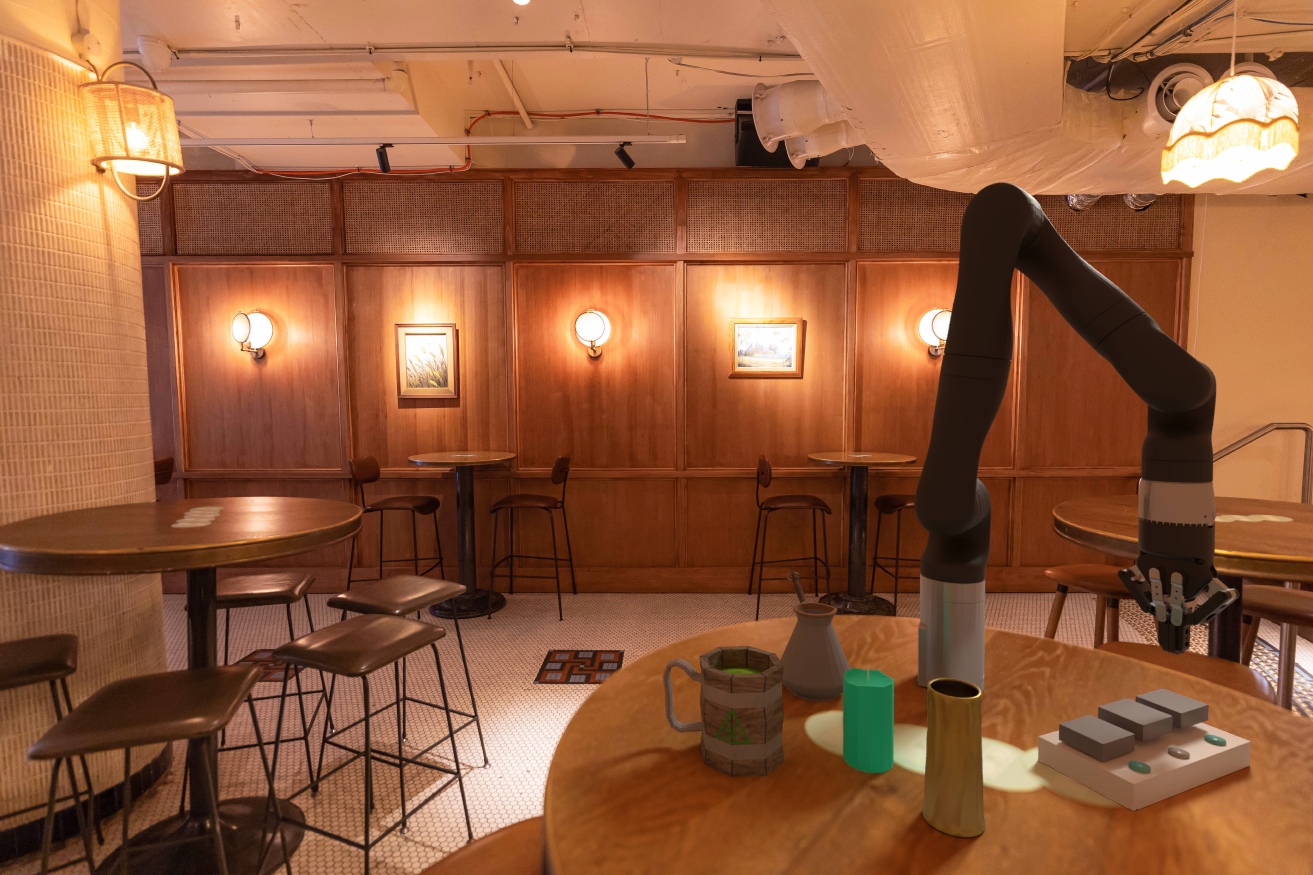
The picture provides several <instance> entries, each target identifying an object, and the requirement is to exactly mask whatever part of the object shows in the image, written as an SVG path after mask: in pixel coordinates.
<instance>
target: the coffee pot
mask: <svg viewBox="0 0 1313 875" xmlns="http://www.w3.org/2000/svg"><path fill="white" fill-rule="evenodd" d="M789 575H791V578H789V577H788V576H789ZM786 579H787V580H789V581H791V582H792V583H793V586H794V587H793V588H794V592H795V595H796V596H797V599H798V601H799V603H797V604H795V605H794V606H793V608H792V610H793V613H795V614H796V617H797V618H796V619H797V621H796V624H795V626H794V628H793V630H792V632H791V635H790V637H789V640H788V642H787V644H786V646H785V648H784V651H783V653H782V655H781V656H780V659H779V660H780V661H781V663H782V664H783V666H784V668H783V676H782V685H783V686H785V688H786V689H788V690H789V692H790V693H791V694H793V695H794V696H795V697H797V698H800V699H803V700H806V701H812V702H828V701H832V700H835V699H837V698H839V696H840V695H842V694H843V676H844V673H845V671H847V670H850V669H852V668H851V666H850V663H849V661H848V659H847V656H846V654H845V652H844V650H843V646H842V645H841V643H840V640H839V638H838V635H837V633H836V631H835V628H834V626H833V624H832V623H833V622H832V621H833V619H834V618H835V617H834V616H835V614H837V612H838V608H837V607H835V606H832V605H829V604H825V603H819V602H806V598H805V594H804V591H803V587H802V585H801V583H800V582H799V581H800V573H799V572H797V571H795V570H791V571H790V572H788V573H787V574H786Z"/></svg>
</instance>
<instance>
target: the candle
mask: <svg viewBox="0 0 1313 875" xmlns="http://www.w3.org/2000/svg"><path fill="white" fill-rule="evenodd" d="M894 691H895V678H893V677H890V676H889V675H887V674H885V673H883V672H882V671H880V670H879V669H870V665H869V664H867V669H865V668H864V669H863V668H858V667H857V668H856V667H852V668H851V669H850V670H847V671H845V673H844V676H843V693H842V758H843V760H844V761H845V764H847V765H848V766H849V767H852V768H853V769H855V770H856V771H860V772H864V773H869V774H881V773H882V774H883V773H886V772H888V771H890V770H892V769H893V766H894V753H895V752H894V746H895V745H894V734H895V733H894V729H895V728H894V726H895V725H894V724H895V720H894V719H895V716H894V714H895V711H894V708H895V704H894V703H895V699H894V698H895V692H894Z"/></svg>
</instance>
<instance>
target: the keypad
mask: <svg viewBox="0 0 1313 875" xmlns="http://www.w3.org/2000/svg"><path fill="white" fill-rule="evenodd" d="M1037 741H1038V743H1037V744H1038V745H1037V760H1038V761H1039V762H1041V763H1043V764H1044V765H1047V766H1049V767H1050V768H1052V769H1053V770H1055V771H1057V772H1060V773H1061V774H1063V775H1064V776H1067V777H1069V778H1071V779H1072V780H1074V781H1076V782H1078V783H1080V784H1082V785H1084V786H1085V787H1087V788H1089V789H1091V790H1093V791H1095V792H1097V793H1098V794H1100V795H1102V796H1104V797H1105V798H1108V799H1110V800H1111V801H1114V802H1115V803H1117V804H1118V805H1121V806H1122V805H1123V807H1124V806H1125V807H1124V808H1126V807H1127V808H1126V809H1128V808H1129V809H1128V810H1130V809H1131V810H1130V811H1132V810H1135V811H1137V810H1136V809H1138V810H1141V809H1143V808H1145V807H1148V806H1150V805H1153V804H1155V803H1156V804H1157V802H1160V801H1163V800H1166V799H1169V798H1171V797H1173V796H1177V795H1178V794H1182V793H1184V792H1186V791H1189V790H1191V789H1192V790H1193V789H1194V788H1197V787H1199V786H1202V785H1204V784H1206V783H1209V782H1212V781H1214V780H1217V779H1219V778H1222V777H1224V776H1227V775H1230V774H1231V773H1235V772H1237V771H1239V770H1243V769H1244V768H1247V767H1250V766H1251V745H1252V744H1251V742H1252V741H1251V740H1248V739H1246V738H1244V737H1240V736H1238V735H1235V734H1233V733H1229V732H1227V731H1226V730H1225V731H1224V730H1222V729H1220V728H1217V727H1214V726H1211V725H1209V724H1206V723H1204V722H1202V723H1199V724H1196V725H1193V726H1190V727H1187V728H1184V729H1179V728H1176V727H1174V726H1172V732H1171V733H1168V734H1165V735H1162V736H1159V737H1156V738H1153V739H1150V740H1147V741H1144V742H1142V741H1140V740H1137V739H1135V745H1134V751H1132V752H1129V753H1126V754H1123V755H1120V756H1117V757H1114V758H1111V759H1109V760H1106V761H1101V760H1099V759H1097V758H1095V757H1093V756H1091V755H1089V754H1087V753H1085V752H1083V751H1081V750H1079V749H1077V748H1075V747H1073V746H1070V745H1068V744H1066V743H1064V742H1062V741H1060V740H1059V729H1058V730H1055V731H1051V732H1048V733H1046V734H1045V733H1044V734H1041V735H1038V740H1037Z"/></svg>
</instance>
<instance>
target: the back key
mask: <svg viewBox="0 0 1313 875" xmlns="http://www.w3.org/2000/svg"><path fill="white" fill-rule="evenodd" d="M1134 701H1135V702H1138V703H1140V704H1143V705H1145V706H1148V707H1151V708H1153V709H1156V710H1158V711H1161V712H1163V713H1166V714H1169V715H1171V716H1173V722H1172V726H1174V727H1176V728H1179V729H1184V728H1187V727H1190V726H1193V725H1196V724H1199V723H1204V722H1207V721H1209V704H1208V703H1205V702H1202V701H1199V700H1197V699H1194V698H1191V697H1189V696H1185V695H1183V694H1180V693H1177V692H1174V691H1172V690H1169V689H1166V688H1163V687H1162V688H1158V689H1155V690H1152V691H1148V692H1145V693H1141V694H1137V695H1135V700H1134Z"/></svg>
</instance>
